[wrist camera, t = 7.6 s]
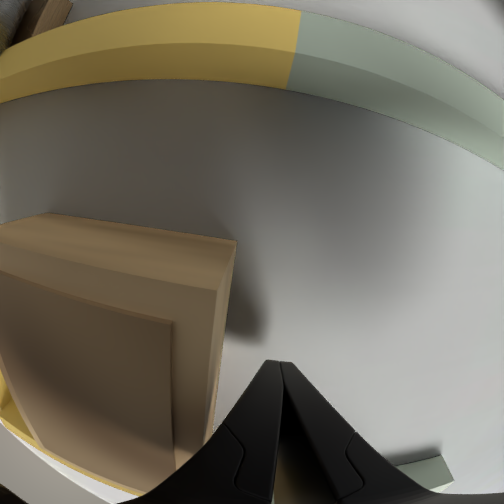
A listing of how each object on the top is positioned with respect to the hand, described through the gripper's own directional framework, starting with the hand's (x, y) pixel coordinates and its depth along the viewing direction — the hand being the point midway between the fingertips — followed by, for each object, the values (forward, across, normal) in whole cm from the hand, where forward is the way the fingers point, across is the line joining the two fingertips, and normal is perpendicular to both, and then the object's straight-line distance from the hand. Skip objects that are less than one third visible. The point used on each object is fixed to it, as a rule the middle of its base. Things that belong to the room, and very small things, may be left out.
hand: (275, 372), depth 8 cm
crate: (+1, +5, +1) cm, 5 cm away
